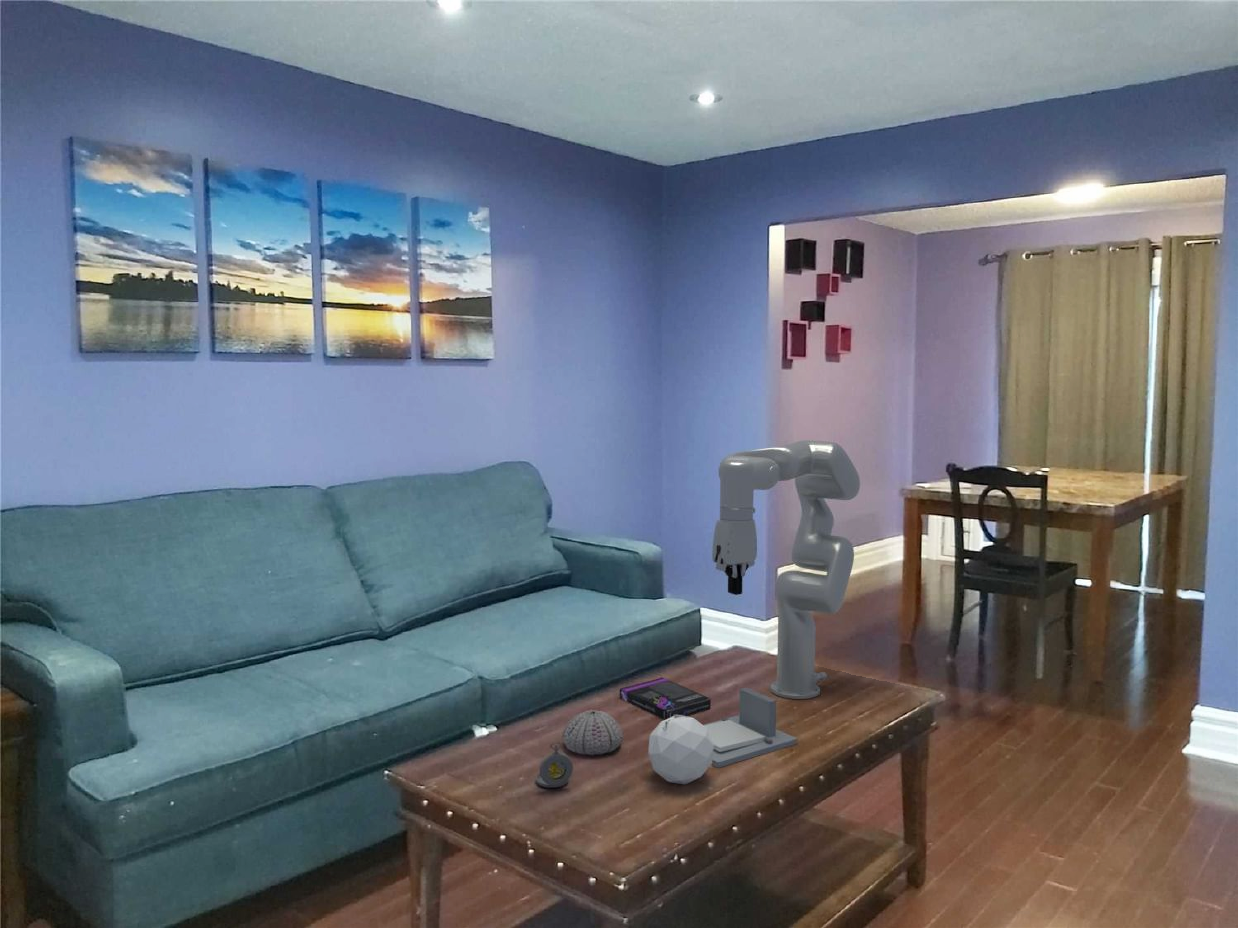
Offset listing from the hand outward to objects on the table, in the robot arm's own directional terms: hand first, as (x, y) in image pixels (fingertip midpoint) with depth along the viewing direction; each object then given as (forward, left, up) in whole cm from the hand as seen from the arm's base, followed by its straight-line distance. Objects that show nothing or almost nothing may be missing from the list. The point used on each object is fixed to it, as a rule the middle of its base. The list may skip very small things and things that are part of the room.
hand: (734, 593), depth 219 cm
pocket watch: (+50, +3, -32) cm, 60 cm away
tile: (+7, +6, -30) cm, 31 cm away
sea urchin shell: (+33, -9, -32) cm, 47 cm away
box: (+4, -22, -33) cm, 39 cm away
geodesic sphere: (+27, +15, -32) cm, 45 cm away
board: (+6, +6, -32) cm, 33 cm away
